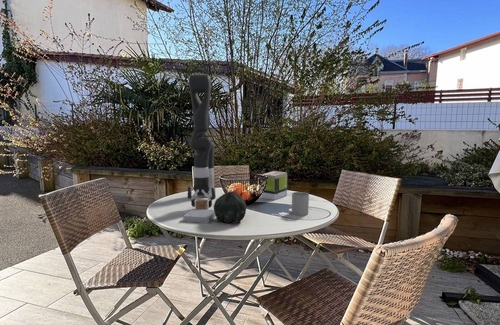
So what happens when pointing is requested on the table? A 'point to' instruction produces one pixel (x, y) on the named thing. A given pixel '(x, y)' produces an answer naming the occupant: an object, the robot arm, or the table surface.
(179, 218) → the table surface
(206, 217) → the stone coaster
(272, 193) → the tea box
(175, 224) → the table surface
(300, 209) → the cup
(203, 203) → the walnut cube
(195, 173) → the robot arm
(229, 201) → the squash
